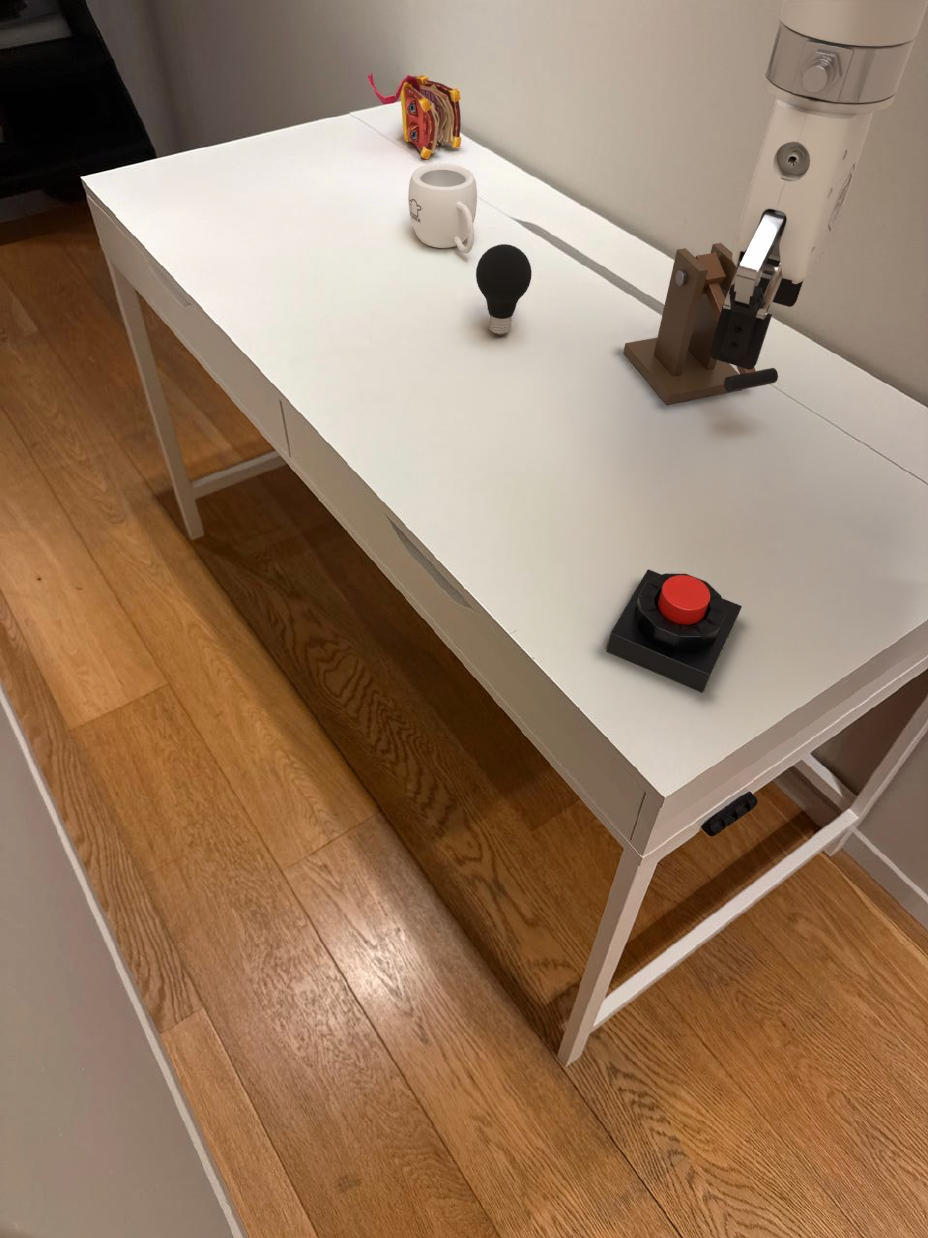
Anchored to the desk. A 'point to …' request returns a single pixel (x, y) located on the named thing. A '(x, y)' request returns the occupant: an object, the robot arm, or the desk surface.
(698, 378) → the bracket
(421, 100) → the book monster
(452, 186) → the mug
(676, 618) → the button
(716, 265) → the lever
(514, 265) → the light bulb
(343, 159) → the desk surface
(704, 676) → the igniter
